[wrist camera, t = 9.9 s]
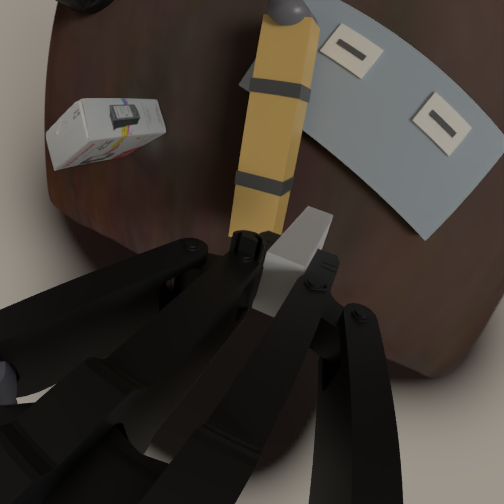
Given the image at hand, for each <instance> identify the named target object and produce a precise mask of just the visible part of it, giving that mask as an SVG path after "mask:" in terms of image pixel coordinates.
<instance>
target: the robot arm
mask: <svg viewBox="0 0 504 504" xmlns="http://www.w3.org/2000/svg"><path fill="white" fill-rule="evenodd" d="M56 1H58V2H60V3H61V4H63V5H65V6H67V7H69V8H70V9H72V10H74V11H76V12H81V13H88V14H90V13H95V12H97V11H99V10H101V9H103V8H104V7H106V6H107V5H108V4H109V3H111V2H112V1H113V0H56ZM332 218H333V215H331V214H329V213H326V212H323V211H321V210H318V209H315V208H312V207H310V206H308V207H307V208H306V209H305V210H304V211H303V212H302V213H301V215H300V216H299V217H298V218H297V219H296V220H295V221H294V222H293V223H292V224H291V226H290V227H289V228H288V229H287V230H286V231H285V232H284V233H283V234H282V235H279V234H277V233H274V232H271V231H265V232H261V233H260V234H258V233H256V232H252V231H248V230H237V231H235V232H233V236H232V241H231V246H230V251H229V252H228V253H226V254H225V255H224V256H220V255H215V254H210V253H208V246H207V244H206V243H205V242H203V241H201V240H199V239H195V238H183V239H179V240H177V241H174V242H171V243H168V244H166V245H163V246H160V247H157V248H154V249H152V250H149V251H146V252H144V253H141V254H138V255H136V256H133V257H131V258H128V259H125V260H122V261H120V262H117V263H114V264H112V265H109V266H106V267H104V268H101V269H99V270H96V271H94V272H91V273H88V274H86V275H83V276H81V277H78V278H76V279H73V280H71V281H68V282H66V283H63V284H61V285H58V286H56V287H53V288H51V289H48V290H46V291H43V292H41V293H39V294H36V295H34V296H31V297H29V298H27V299H24V300H22V301H20V302H17V303H15V304H13V305H11V306H8V307H6V308H3V309H1V310H0V504H235V502H236V501H237V499H238V497H239V495H240V494H241V492H242V490H243V488H244V486H245V485H246V483H247V481H248V479H249V477H250V476H251V474H252V472H253V470H254V468H255V466H256V464H257V462H258V460H259V458H260V456H261V452H262V450H263V448H264V446H265V444H266V442H267V440H268V438H269V435H270V434H271V432H272V429H273V427H274V425H275V423H276V421H277V419H278V417H279V415H280V413H281V410H282V409H283V406H284V404H285V402H286V400H287V398H288V396H289V393H290V391H291V389H292V386H293V384H294V382H295V380H296V377H297V375H298V373H299V371H300V368H301V366H302V363H303V361H304V359H305V356H306V354H307V351H308V349H309V348H310V349H312V350H313V351H314V352H316V353H317V354H319V355H320V356H319V359H318V384H317V385H318V386H317V407H316V426H315V441H314V454H313V467H312V477H311V487H310V496H309V504H403V490H402V475H401V461H400V452H399V441H398V432H397V424H396V417H395V410H394V403H393V396H392V391H391V385H390V379H389V373H388V368H387V363H386V357H385V352H384V347H383V343H382V338H381V333H380V329H379V325H378V320H377V318H376V315H375V314H374V313H373V312H372V311H371V310H370V309H369V308H367V307H366V306H364V305H361V304H356V303H351V304H347V305H346V306H345V307H343V306H342V305H340V304H339V303H338V302H336V301H335V299H334V298H333V297H332V295H331V292H330V291H331V287H332V284H333V281H334V278H335V275H336V272H337V269H338V266H339V263H340V262H339V259H338V257H337V256H336V255H333V254H331V253H328V252H325V251H323V250H322V247H323V244H324V241H325V238H326V235H327V233H328V230H329V227H330V224H331V221H332ZM169 279H172V284H171V285H169V286H166V281H167V280H169ZM253 300H254V302H253V305H252V308H254V309H256V310H258V311H261V312H263V313H265V314H268V315H270V316H272V317H274V319H273V320H272V322H271V323H270V325H269V327H268V328H267V330H266V332H265V333H264V335H263V336H262V338H261V340H260V341H259V343H258V344H257V346H256V348H255V349H254V351H253V352H252V354H251V355H250V357H249V359H248V360H247V361H246V363H245V365H244V366H243V368H242V369H241V371H240V372H239V374H238V375H237V377H236V379H235V380H234V381H233V383H232V385H231V386H230V387H229V389H228V391H227V392H226V394H225V395H224V396H223V398H222V399H221V401H220V402H219V404H218V405H217V407H216V408H215V410H214V411H213V413H212V414H211V416H210V417H209V418H208V420H207V421H206V422H205V423H204V424H203V425H199V427H197V428H196V429H195V430H194V432H193V433H192V434H191V435H190V437H189V438H188V440H187V441H186V442H185V444H184V445H183V446H182V448H181V449H180V450H179V452H178V453H177V455H176V456H175V457H174V459H173V460H172V461H171V462H170V464H168V463H165V462H162V461H159V460H156V459H154V458H151V457H148V456H145V455H143V454H144V453H145V451H146V450H147V448H148V446H149V444H150V442H151V439H152V437H153V435H154V433H155V432H156V431H157V429H158V428H159V427H160V426H161V425H162V423H163V422H164V421H165V420H166V418H167V417H168V416H169V415H170V413H171V412H172V411H173V410H174V408H175V407H176V406H177V404H178V403H179V402H180V401H181V400H182V398H183V397H184V395H185V394H186V393H187V392H188V391H189V389H190V388H191V387H192V386H193V384H194V383H195V382H196V380H197V379H198V378H199V377H200V375H201V374H202V373H203V371H204V370H205V369H206V368H207V366H208V365H209V364H210V362H211V361H212V360H213V358H214V357H215V356H216V355H217V353H218V352H219V351H220V349H221V348H222V347H223V345H224V344H225V343H226V341H227V340H228V339H229V337H230V336H231V335H232V333H233V332H234V331H235V329H236V328H237V327H238V325H239V324H240V323H241V321H242V320H243V319H244V317H245V316H246V315H247V312H248V309H249V305H250V303H251V302H252V301H253ZM110 354H111V355H110ZM108 355H110V356H108ZM107 356H108V357H107ZM105 357H107V358H105ZM103 358H105V359H103ZM56 383H57V384H56ZM54 384H56V385H55V386H53V385H54ZM51 386H53V387H52V388H51V389H50V390H49V391H48V392H47V393H45V394H44V395H43V396H42V397H41V398H40V399H39V400H37V401H36V402H34V403H23V404H17V400H16V398H17V397H22V396H27V395H30V394H34V393H37V392H40V391H42V390H44V389H46V388H48V387H51Z"/></svg>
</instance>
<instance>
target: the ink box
mask: <svg viewBox="0 0 504 504" xmlns="http://www.w3.org/2000/svg"><path fill="white" fill-rule="evenodd" d="M165 133H166V128H165V124H164V121H163V117H162V114H161V111H160V108H159V104H158V101H157V100H155V99H131V98H85V99H80V100H79V101H77V102H75V103H74V104H73V105H72V106H71V107H70V108H69V109H68V110H67V111H66V112H65V113H64V114H63V115H62V116H61V117H60V118H59V119H58V121H57V122H56V123H55V124H53V126H52V127H51V128H50V129H49V130H48V131H47V132H46V140H47V144H48V148H49V152H50V156H51V160H52V164H53V168H54V171H56V170H59V169H63V168H68V167H72V166H77V165H81V164H87V163H92V162H97V161H103V160H109V159H115V158H121V157H125V156H127V155H129V154H130V153H132V152H134V151H135V150H137V149H138V148H140V147H142V146H143V145H145V144H147V143H149V142H150V141H152V140H154V139H156V138H158V137H159V136H161V135H163V134H165Z"/></svg>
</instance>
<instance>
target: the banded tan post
mask: <svg viewBox="0 0 504 504" xmlns="http://www.w3.org/2000/svg"><path fill="white" fill-rule="evenodd" d="M267 13H268V14H264V16H263V22H262V27H261V33H260V38H259V44H258V49H257V55H256V61H255V66H254V72H253V78H252V77H251V80H250V86H249V91H250V96H249V102H248V108H247V114H246V121H245V127H244V133H243V140H242V146H241V153H240V159H239V166H238V170H236V176H235V182H234V184H236V187H235V194H234V201H233V208H232V215H231V222H230V230H229V236H230V237H232V236H233V232H235V231H237V230H248V231H252V232H256V233H258V234H260V233H261V232H265V231H271V232H274V233H277V234H279V235H281V233H282V229H283V224H284V219H285V214H286V210H287V205H288V200H289V195H290V190H292V187H293V182H294V176H293V175H294V170H295V165H296V160H297V155H298V150H299V145H300V140H301V135H302V130H303V124H304V119H305V114H306V108H307V103H309V100H310V94H311V89H310V86H311V81H312V75H313V69H314V64H315V58H316V52H317V46H318V40H319V34H320V28H319V26H318V23H317V20H316V18H315V16H314V15H313V14H312V12H311V11H310V9H309V8H308V6H307V5H306V4H305V2H304V1H303V0H269V2H268V4H267Z"/></svg>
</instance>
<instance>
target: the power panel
mask: <svg viewBox="0 0 504 504" xmlns="http://www.w3.org/2000/svg"><path fill="white" fill-rule="evenodd" d="M303 1H304V2H305V4H306V5H307V6H308V8H309V9H310V11H311V12H312V14H313V15H314V16H315V18H316V20H317V23H318V26H319V28H320V34H319V40H318V46H317V52H316V58H315V64H314V69H313V75H312V81H311V86H310V89H311V94H310V100H309V103H307V108H306V114H305V119H304V124H303V131H305V132H306V133H307V134H308V135H310V136H311V137H312V138H314V139H315V140H316V141H317V142H319V143H320V144H321V145H322V146H324V147H325V148H326V149H327V150H329V151H330V152H331V153H332V154H333V155H335V156H336V157H337V158H338V159H339V160H341V161H342V162H343V163H344V164H345V165H346V166H348V167H349V168H350V169H351V170H352V171H353V172H355V173H356V174H357V175H358V176H359V177H360V178H361V179H362V180H364V181H365V182H366V183H367V184H368V185H369V186H370V187H371V188H372V189H373V190H375V191H376V192H377V193H378V194H379V195H380V196H381V197H382V198H383V199H384V200H385V201H386V202H387V203H388V204H389V205H390V206H391V207H393V208H394V209H395V210H396V211H397V212H398V213H399V214H400V215H401V216H402V217H403V218H404V219H405V220H406V221H407V222H408V223H409V224H410V225H411V227H412V228H413V229H414V230H415V231H416V232H417V233H418V234H419V235H420V236H421V237H422V238H423V239H424V240H425V241H426V240H427V239H428V238H429V237H430V236H431V235H432V234H433V233H434V232H435V231H436V230H437V229H438V228H439V227H440V225H441V224H442V223H443V222H444V221H445V220H446V219H447V218H448V217H449V216H450V215H451V214H452V213H453V212H454V211H455V210H456V208H457V207H458V206H459V205H460V204H461V203H462V202H463V201H464V200H465V199H466V197H467V196H468V195H469V194H470V193H471V192H472V191H473V189H474V188H475V187H476V186H477V185H478V184H479V182H480V181H481V180H482V179H483V178H484V176H485V175H486V174H487V173H488V172H489V170H490V169H491V168H492V167H493V166H494V164H495V163H496V162H497V161H498V159H499V158H500V157H501V155H502V154H503V153H504V135H503V133H502V132H501V131H500V130H499V129H498V127H497V126H496V125H495V124H494V123H493V122H492V120H491V119H490V118H489V117H488V116H487V115H486V114H485V113H484V111H483V110H482V109H481V108H480V107H479V106H478V105H477V104H476V103H475V102H474V101H473V100H472V99H471V98H470V97H469V96H468V95H467V94H466V93H465V92H464V91H463V90H462V89H461V88H460V87H459V86H458V85H457V84H456V83H455V82H454V81H453V80H452V79H451V78H449V77H448V76H447V75H446V74H445V73H444V72H443V71H442V70H440V69H439V68H438V67H437V66H436V65H435V64H433V63H432V62H431V61H430V60H429V59H427V58H426V57H425V56H424V55H422V54H421V53H420V52H419V51H417V50H416V49H415V48H413V47H412V46H411V45H409V44H408V43H407V42H405V41H404V40H403V39H401V38H400V37H398V36H397V35H396V34H394V33H393V32H391V31H390V30H388V29H387V28H385V27H384V26H382V25H381V24H379V23H378V22H376V21H375V20H373V19H371V18H370V17H368V16H367V15H365V14H363V13H362V12H360V11H358V10H356V9H355V8H353V7H351V6H349V5H348V4H346V3H344V2H342V1H340V0H303ZM255 61H256V59H255ZM255 61H254V62H253V64H252V65H251V67H250V68H249V70H248V71H247V73H246V74H245V76H244V77H243V79H242V80H241V82H240V83H239V86H241V87H242V88H244V89H245V90H247V91H248V92H250V91H249V86H250V80H251V77H252V78H253V72H254V66H255Z"/></svg>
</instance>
